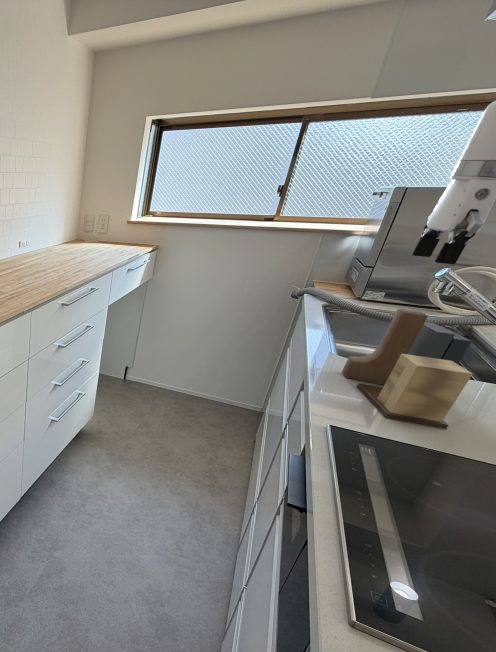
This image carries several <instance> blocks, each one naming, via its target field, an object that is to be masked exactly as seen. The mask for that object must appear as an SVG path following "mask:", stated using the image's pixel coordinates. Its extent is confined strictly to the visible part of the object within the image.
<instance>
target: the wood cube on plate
mask: <svg viewBox="0 0 496 652" xmlns="http://www.w3.org/2000/svg"><path fill="white" fill-rule="evenodd" d="M472 376H473V373H472V372H471V371H469V370H467V369H466V368H465V367H463V366H461V365H459V363H458V364H456V363H455V362H453V361H450V360H443V359H436V358H429V357H422V356H415V355H408V354H401V355H400V357H399V359H398V361H397V363H396V365H395V366H394V368H393V370H392V372H391V374H390V376H389V378H388V379H387V381H386V383H385V385H383V386H377V385H371V384H365V383H360V382H359V383H358V384H357V385H356V388H357V389H358V390H359V391H360V392H361V393H362V394H363V395H364V397H366V398H367V400H368V401H369V402H370V403H371V404H372V405H373V407H375V408H376V409H377V411H378V412H379V413H380V414H381V415H382V416H383V417H384V418H385V419H389V420H395V421H399V422H400V421H401V422H407V423H411V424H417V425H422V426H428V427H432V428H433V427H434V428H438V429H443V430H447V429H448V427H449V423H447V422H446V421H445V418H446V416H447V415H448V413H449V412H450V411H451V409H452V407H453V406H454V404H455V402H456V401H457V400H458V398H459V396H460V395H461V392H463V390H464V389H465V387H466V385H467V383H468V382H469V381H470V379H471V378H472Z"/></svg>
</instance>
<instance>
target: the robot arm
mask: <svg viewBox="0 0 496 652" xmlns="http://www.w3.org/2000/svg"><path fill="white" fill-rule="evenodd" d="M449 180H451V181H450V182H449V184H448V185H447V187H446V188H445V190H444V191H443V193H442V195H441V196H440V198H439V199H438V201H437V203H436V205H435V207H434V208H433V211H432V212H431V214H430V215H429V216H428V217H427V221H426V224H425V225H424V226H423V231H422V233H421V234H420V238H419V240H418V242H417V244H416V245H415V248H414V250H413V251H412V256H414V257H422V258H424V257H425V258H430V257H431V256H432V255H433V253H434V252H435V249H436V247H437V245H438V244H439V242H440V240H441V238H439V237H441V236H442V235H443V234H444V233H448V240H447V242H444V243H443V245H442V247H441V248H440V250H439V253H438V254H437V256H436V258H435V259H434V262H435V263H437V264H444V265H445V264H446V265H455V264H456V263H457V262H458V261H459V258H460V257H461V255H462V253H463V251H464V249H465V247H466V246H467V245H468V244H469V243H470V241H471V239H472V238H473V237H474V236H476V233H478V232H479V231H481V229H482V227H483V225H484V223H485V221H486V219H487V218H488V215H489V214H490V212H491V209H492V207H493V205H494V204H495V201H496V100H494V101H492V102H490V103H489V104H488V105H487V106H486V107H485V109H484V111H483V112H482V114H481V116H480V118H479V121H478V122H477V124H476V126H475V127H474V130H473V133H472V134H471V136H470V138H469V140H468V142H467V144H466V146H465V148H464V150H463V151H462V153H461V156H460V158H459V159H458V161H457V163H456V165H455V167H454V169H453V170H452V172H451V175H450V176H449Z"/></svg>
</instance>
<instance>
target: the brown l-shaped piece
mask: <svg viewBox="0 0 496 652" xmlns="http://www.w3.org/2000/svg"><path fill="white" fill-rule="evenodd" d="M428 318H429V317H428V315H427V314H426V313H424V312H423V311H421V310H413V309H406V308H397V310H396V311H395V313H394V315H393V317H392V319H391V321H390V323H389V325H388V326H387V329H386V331H385V333H384V335H383V336H382V338H381V340H380V342H379V343H378V346H377V347H376V349H375V350H374V351H372V353H369V354H367V355H364V356H357V355H356V356H355V355H354V356H353V355H351V356H348V358H347V360H346V362H345V364H344V366H343V368H342V370H341V371H342V374H343V376H344V377H345V378H346V379H351V380H358V381H363V382H368V383H371V384H377V385H383V386H384V385H385V383H386V381H387V379H388V378H389V376H390V374H391V372H392V370H393V368H394V366H395V365H396V363H397V361H398V359H399V357H400V355H401V354H408V352H409V350H410V348H411V347H412V345H413V343H414V341H415V339H416V337H417V336H418V334H419V332H420V330H421V328H422V327H423V325H424V323H425V322H427V319H428Z"/></svg>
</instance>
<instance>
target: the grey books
mask: <svg viewBox="0 0 496 652" xmlns="http://www.w3.org/2000/svg"><path fill="white" fill-rule="evenodd" d="M472 342H473V341H472V340H471V339H469V338H466V337H464V336H462V335H461V334H460V333H457V332H455V331H453V330H451V329H449V328H444V327H442V326H441V325H438V324H436V323H435V322H428V321H425V323H424V325H423V327H422V328H421V330H420V332H419V334H418V336H417V337H416V339H415V341H414V343H413V345H412V347H411V348H410V350H409V352H408V355H415V356H422V357H429V358H436V359H443V360H450V361H453V362H455V363H456V364H458V365H459V363H460V362H461V360H462V358H463V357H464V355H465V353H466V352H467V350H468V348H469V347H470V346H471V343H472Z"/></svg>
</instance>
